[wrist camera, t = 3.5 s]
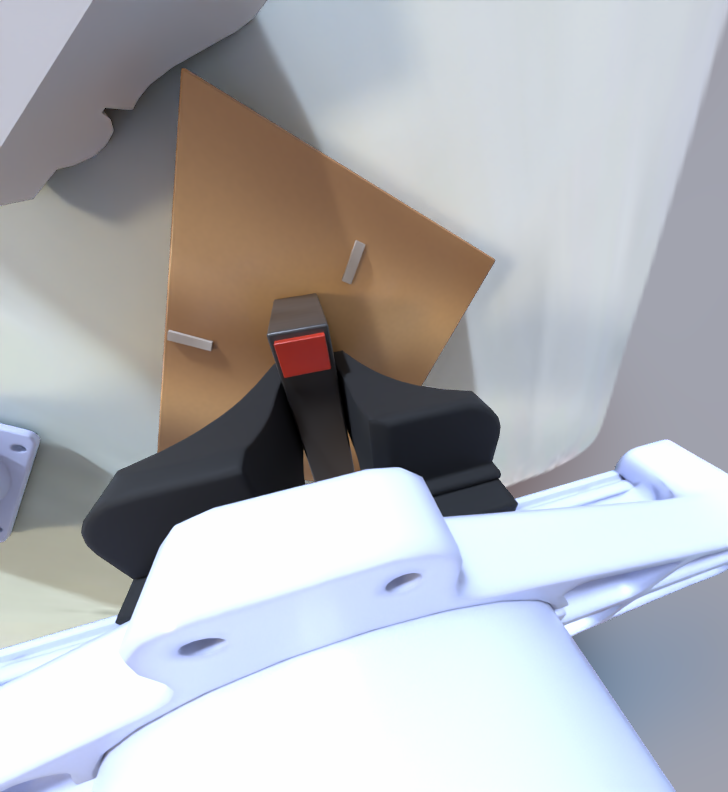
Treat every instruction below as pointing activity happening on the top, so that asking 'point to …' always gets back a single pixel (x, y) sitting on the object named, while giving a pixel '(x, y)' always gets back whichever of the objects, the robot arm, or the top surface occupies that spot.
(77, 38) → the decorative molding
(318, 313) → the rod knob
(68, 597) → the top surface
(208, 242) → the panel
